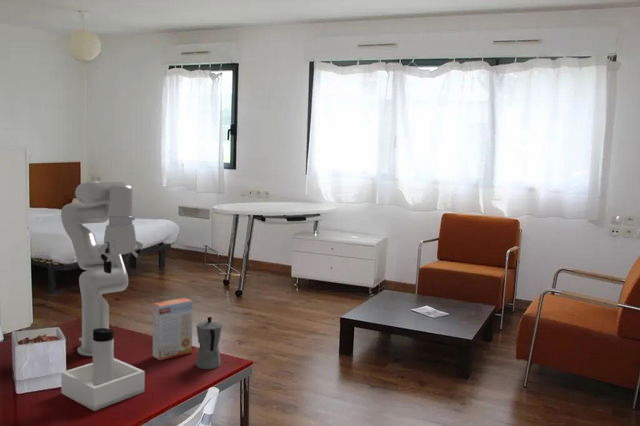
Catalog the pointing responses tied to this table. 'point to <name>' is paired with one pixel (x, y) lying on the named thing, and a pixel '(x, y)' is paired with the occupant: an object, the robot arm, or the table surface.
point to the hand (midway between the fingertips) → (120, 270)
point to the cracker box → (172, 328)
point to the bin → (102, 385)
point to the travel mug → (103, 356)
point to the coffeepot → (208, 344)
